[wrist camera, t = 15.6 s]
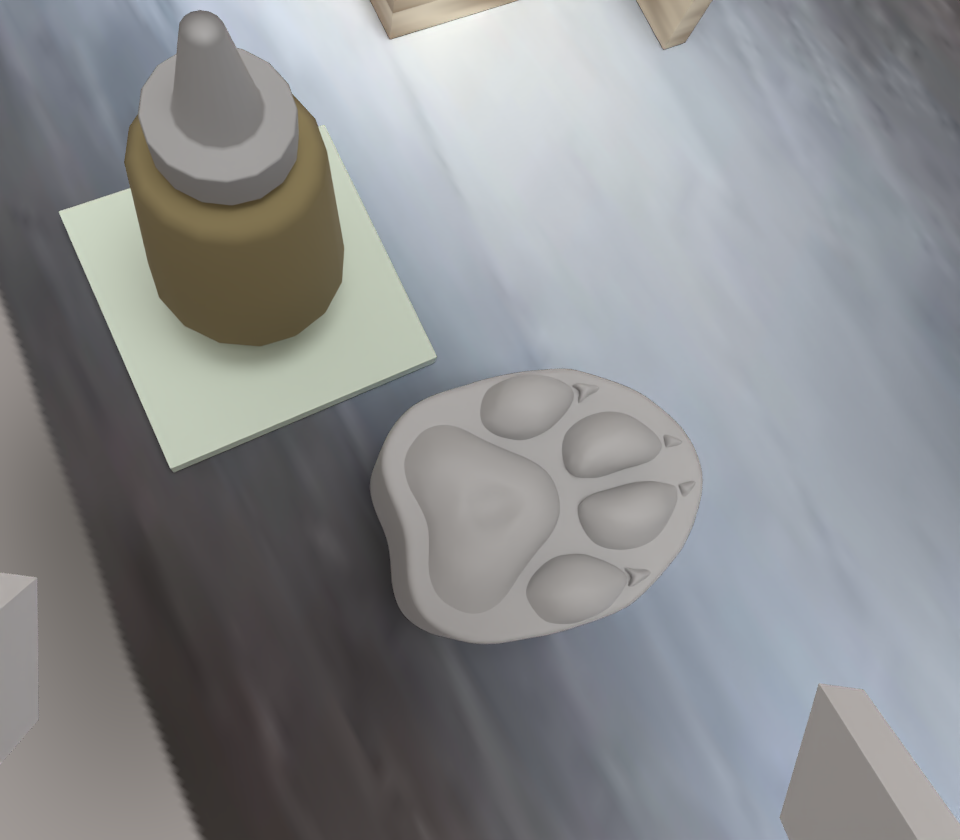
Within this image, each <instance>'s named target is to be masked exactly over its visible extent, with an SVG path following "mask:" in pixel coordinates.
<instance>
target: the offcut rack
mask: <svg viewBox="0 0 960 840" xmlns="http://www.w3.org/2000/svg"><path fill="white" fill-rule="evenodd" d="M370 1H371V3H372V5H373V7H374V9H375V11H376V13H377V15H378V17H379V19H380V21H381V23H382V25H383V27H384V29H385V31H386V33H387V35H388V37H389V39H393V38H396V37H399V36H402V35H406V34H409V33H412V32H416V31H419V30H422V29H425V28H429V27H432V26H435V25H438V24H442V23H445V22H448V21H452V20H455V19H458V18H461V17H465V16H468V15H471V14H475V13H478V12H481V11H484V10H488V9H491V8H494V7H497V6H501V5H504V4H507V3H511V2H514V1H517V0H370ZM637 2H638V4H639V6H640V8H641V10H642V11H643V13H644V15H645V17H646V19H647V21H648V22H649V24H650V26H651V28H652V30H653V31H654V33H655V35H656V37H657V39H658V41H659V42H660V44H661V46H662V48H663V50H664V49H667V48H670V47H673V46H676V45H679V44H682V43H685V42H686V40H687V39H688V37H689V36H690V34H691V33H692V31H693V30H694V28H695V26H696V25H697V23H698V22H699V20H700V19H701V17H702V16H703V14H704V12H705V11H706V9H707V8H708V6H709V5H710V3H711V2H712V0H637Z"/></svg>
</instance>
